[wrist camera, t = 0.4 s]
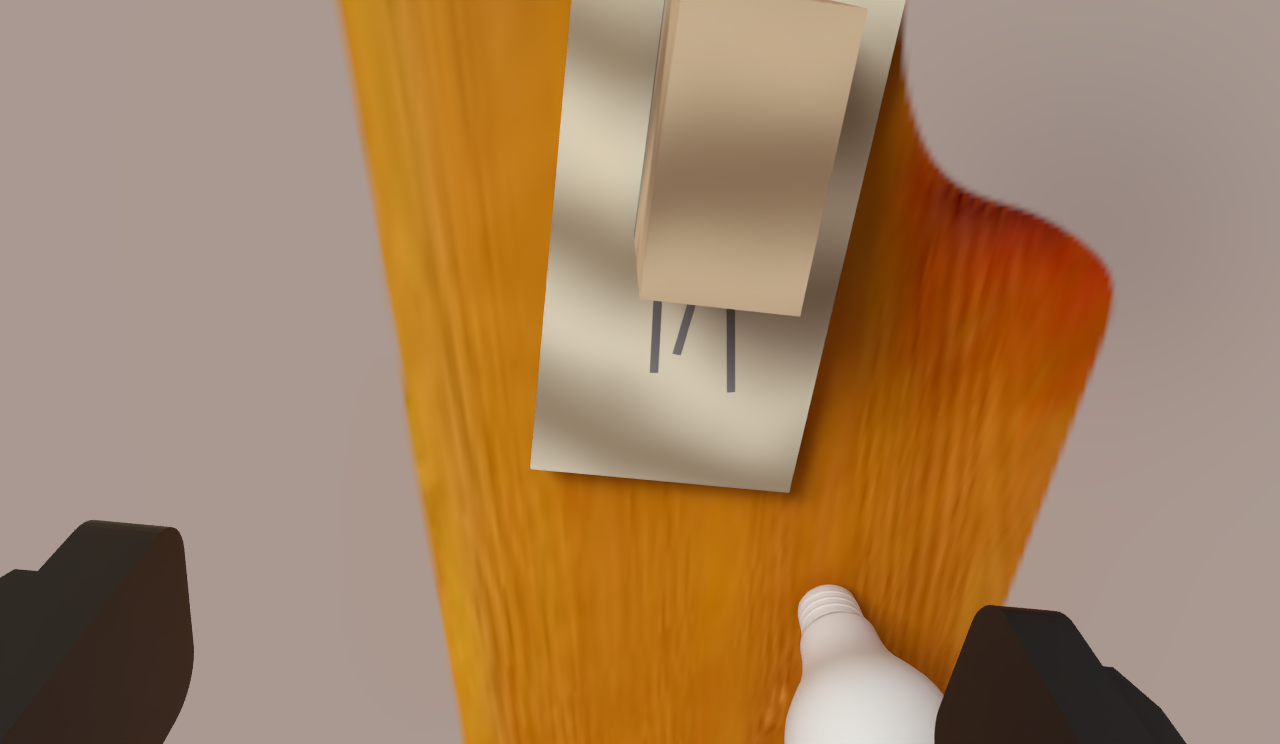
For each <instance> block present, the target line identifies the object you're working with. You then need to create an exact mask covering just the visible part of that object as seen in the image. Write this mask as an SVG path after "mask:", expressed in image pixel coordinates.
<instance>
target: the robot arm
mask: <svg viewBox="0 0 1280 744" xmlns="http://www.w3.org/2000/svg"><path fill="white" fill-rule="evenodd" d="M193 660H194V645H193V634H192V624H191V615H190V604H189V593H188V583H187V574H186V562H185V552H184V545H183V540H182V537H181V535H180V533H179V531H178V530H177V529H175V528H173V527H164V526H153V525H142V524H131V523H120V522H110V521H99V520H90V521H87V522H85V523H83V524H82V525H80V526H79V527H78V528H77V529H76V530H75V531H74V532H73V533H72V534H71V535H70V536H69V537H68V538H67V539H66V541H65V542H64V543H63V544H62V545H61V546H60V547H59V548H58V549H57V550H56V552H55V553H54V554H53V555H52V556H51V557H50V558H49V559H48V560H47V562H46V563H45V564H44V565H43V566H42V567H41V568H40V569H39V571H30V570H29V571H28V570H18V569H15V570H13V571H11V572H9V573H7V574H6V575H4V576H2V577H1V578H0V744H163V742H164V741H165V739H166V737H167V735H168V734H169V732H170V730H171V728H172V726H173V725H174V723H175V721H176V719H177V717H178V715H179V713H180V711H181V709H182V706H183V704H184V701H185V698H186V695H187V692H188V688H189V684H190V680H191V675H192V669H193ZM934 744H1186V743H1185V741H1184V740H1183V738H1182V737H1181V736H1180V734H1179V733H1178V731H1177V730H1176V729H1175V727H1174V726H1173V725H1172V724H1171V722H1170V720H1169V719H1168V718H1167V716H1166V715H1165V714H1164V712H1163V711H1162V709H1161V708H1159V706H1157V705H1156V704H1155V703H1154V702H1153V701H1151V700H1150V699H1149V698H1148V697H1147V696H1146V695H1145V694H1144V693H1142V692H1141V691H1140V690H1139V689H1138V688H1137V687H1135V686H1134V685H1133V684H1132V683H1131V682H1130V681H1128V680H1127V679H1126V678H1125V677H1124V676H1122V675H1121V674H1120V673H1119V672H1118V671H1116V669H1114V668H1113V667H1104V666H1102V664H1101V663H1100V662H1099V660H1098V658H1097V657H1096V656H1095V654H1094V653H1093V652H1092V650H1091V648H1090V647H1089V645H1088V644H1087V642H1086V641H1085V640H1084V638H1083V637H1082V635H1081V634H1080V632H1079V631H1078V629H1077V628H1076V626H1075V625H1074V624H1073V623H1072V621H1071V620H1070V619H1069V618H1068V617H1067V616H1066V615H1064V614H1063V613H1061V612H1057V611H1049V610H1037V609H1027V608H1015V607H1005V606H994V605H987V606H984V607H983V608H981V609H980V610H979V611H978V612H977V614H976V615H975V617H974V619H973V621H972V623H971V626H970V629H969V631H968V634H967V636H966V639H965V642H964V644H963V647H962V649H961V652H960V655H959V657H958V660H957V662H956V665H955V668H954V670H953V673H952V675H951V678H950V681H949V683H948V686H947V689H946V691H945V694H944V696H943V699H942V702H941V704H940V707H939V710H938V713H937V717H936V722H935V732H934Z"/></svg>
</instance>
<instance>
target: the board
mask: <svg viewBox="0 0 1280 744" xmlns="http://www.w3.org/2000/svg"><path fill="white" fill-rule="evenodd" d="M832 1H836V2H841V3H845V4H849V5H854V6H858V7H862V8H866V9H868V11H867V15H866V20H865V24H864V29H863V33H862V38H861V43H860V47H859V52H858V56H857V61H856V65H855V70H854V74H853V79H852V83H851V88H850V92H849V97H848V101H847V106H846V111H845V115H844V120H843V124H842V129H841V133H840V138H839V142H838V147H837V151H836V156H835V160H834V165H833V170H832V174H831V179H830V183H829V188H828V192H827V197H826V201H825V206H824V210H823V215H822V219H821V224H820V229H819V233H818V238H817V242H816V247H815V251H814V256H813V260H812V265H811V269H810V274H809V278H808V283H807V288H806V292H805V297H804V301H803V306H802V310H801V315H800V317H799V316H790V315H780V314H771V313H762V312H753V311H744V310H735V309H725V308H716V307H707V306H698V305H689V304H680V303H670V302H661V301H652V300H643V299H640V298H639V287H638V276H637V265H636V254H635V243H634V230H635V222H636V215H637V207H638V199H639V192H640V184H641V176H642V168H643V161H644V153H645V145H646V137H647V130H648V122H649V114H650V107H651V99H652V91H653V83H654V76H655V68H656V60H657V53H658V45H659V37H660V29H661V22H662V14H663V6H664V0H572V2H571V13H570V24H569V36H568V47H567V58H566V70H565V81H564V92H563V104H562V115H561V126H560V137H559V149H558V160H557V171H556V183H555V194H554V205H553V217H552V228H551V239H550V250H549V262H548V273H547V284H546V296H545V307H544V318H543V330H542V341H541V352H540V363H539V375H538V386H537V397H536V409H535V420H534V431H533V443H532V454H531V465H530V469H536V470H547V471H558V472H568V473H579V474H590V475H601V476H612V477H623V478H634V479H645V480H655V481H666V482H677V483H688V484H699V485H710V486H721V487H732V488H742V489H753V490H764V491H775V492H786V493H789V491H790V487H791V483H792V478H793V474H794V470H795V466H796V462H797V457H798V453H799V449H800V445H801V440H802V436H803V432H804V428H805V423H806V419H807V415H808V411H809V407H810V402H811V398H812V394H813V390H814V385H815V381H816V377H817V373H818V369H819V364H820V360H821V356H822V352H823V347H824V343H825V339H826V335H827V331H828V326H829V322H830V318H831V314H832V309H833V305H834V301H835V297H836V293H837V288H838V284H839V280H840V276H841V271H842V267H843V263H844V259H845V255H846V250H847V246H848V242H849V238H850V233H851V229H852V225H853V221H854V217H855V212H856V208H857V204H858V200H859V195H860V191H861V187H862V183H863V179H864V174H865V170H866V166H867V162H868V157H869V153H870V149H871V145H872V141H873V136H874V132H875V128H876V124H877V119H878V115H879V111H880V107H881V103H882V98H883V94H884V90H885V86H886V81H887V77H888V73H889V69H890V65H891V60H892V56H893V52H894V48H895V43H896V39H897V35H898V31H899V27H900V22H901V18H902V14H903V10H904V5H905V1H906V0H832Z"/></svg>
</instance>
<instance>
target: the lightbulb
mask: <svg viewBox="0 0 1280 744" xmlns="http://www.w3.org/2000/svg"><path fill="white" fill-rule="evenodd" d="M798 618H799V622H800V628H801V634H802V637H801V643H800V651H801V657H802V663H803V673H802V678H801V682H800V684H799V686H798V688H797V690H796V693H795V695H794V697H793V700H792V703H791V706H790V708H789V711H788V714H787V718H786V724H785V738H784V744H934V732H935V722H936V717H937V713H938V710H939V707H940V704H941V702H942V699H943V696H944V695H943V694H942V693H941V691H940V690H939V689H938V688H937V686H936V685H935V684H934V683H933V682H932V681H931V680H930V679H929V678H927V677H926V676H925V675H924V674H922V673H921V672H920V671H918V670H917V669H915V668H914V667H912V666H911V665H910V664H908V663H906V662H905V661H903V660H901V659H900V658H898V657H896V656H894V655H893V654H892V653H890V652H889V651H888V650H887V649H886V647H885V646H884V645H883V643H882V642H881V640H880V638H879V636H878V634H877V632H876V630H875V629H874V627H873V625H872V624H871V623H870V622H869V621H868V620H867V619H866V618H864V616H863V614H862V611H861V610H860V608H859V605H858V603H857V602H856V600H855V598H854V596H853V595H852V593H851V592H850V591H849V590H847V589H845V588H844V587H841V586H837V585H821V586H818V587H815V588H813V589H811V590H810V591H809V592H807V593H806V594H805V595H804V596H803V598H802V599H801V601H800V603H799V605H798Z"/></svg>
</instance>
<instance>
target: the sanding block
mask: <svg viewBox="0 0 1280 744" xmlns="http://www.w3.org/2000/svg"><path fill="white" fill-rule="evenodd" d="M867 11H868V9H866V8H862V7H858V6H854V5H849V4H845V3H841V2H836V1H832V0H664V6H663V14H662V22H661V29H660V37H659V45H658V53H657V60H656V68H655V76H654V83H653V91H652V99H651V107H650V114H649V122H648V130H647V137H646V145H645V153H644V161H643V168H642V176H641V184H640V192H639V199H638V207H637V215H636V222H635V230H634V243H635V254H636V265H637V276H638V287H639V298H640V299H643V300H652V301H661V302H670V303H680V304H689V305H698V306H707V307H716V308H725V309H735V310H744V311H753V312H762V313H771V314H780V315H790V316H799V317H800V315H801V310H802V306H803V301H804V297H805V292H806V288H807V283H808V278H809V274H810V269H811V265H812V260H813V256H814V251H815V247H816V242H817V238H818V233H819V229H820V224H821V219H822V215H823V210H824V206H825V201H826V197H827V192H828V188H829V183H830V179H831V174H832V170H833V165H834V160H835V156H836V151H837V147H838V142H839V138H840V133H841V129H842V124H843V120H844V115H845V111H846V106H847V101H848V97H849V92H850V88H851V83H852V79H853V74H854V70H855V65H856V61H857V56H858V52H859V47H860V43H861V38H862V33H863V29H864V24H865V20H866V15H867Z"/></svg>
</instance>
